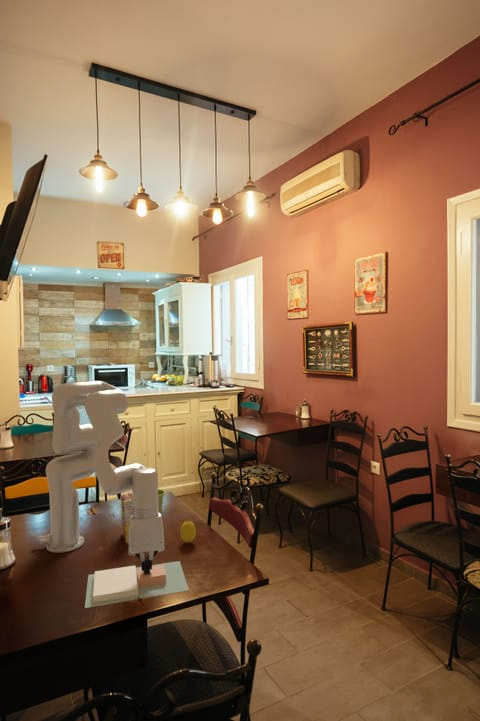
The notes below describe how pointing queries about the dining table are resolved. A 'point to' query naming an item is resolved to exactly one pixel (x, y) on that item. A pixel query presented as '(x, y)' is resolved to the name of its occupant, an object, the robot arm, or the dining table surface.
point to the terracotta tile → (151, 576)
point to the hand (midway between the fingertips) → (146, 572)
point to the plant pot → (160, 499)
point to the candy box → (126, 514)
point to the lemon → (188, 531)
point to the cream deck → (115, 583)
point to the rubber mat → (172, 585)
